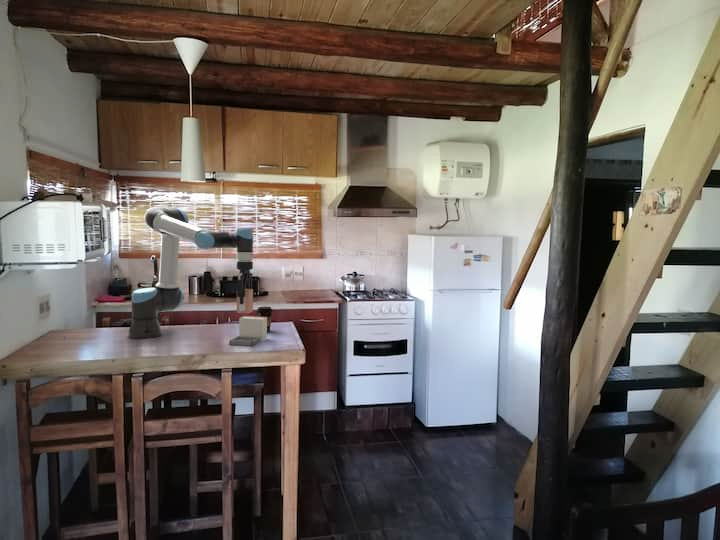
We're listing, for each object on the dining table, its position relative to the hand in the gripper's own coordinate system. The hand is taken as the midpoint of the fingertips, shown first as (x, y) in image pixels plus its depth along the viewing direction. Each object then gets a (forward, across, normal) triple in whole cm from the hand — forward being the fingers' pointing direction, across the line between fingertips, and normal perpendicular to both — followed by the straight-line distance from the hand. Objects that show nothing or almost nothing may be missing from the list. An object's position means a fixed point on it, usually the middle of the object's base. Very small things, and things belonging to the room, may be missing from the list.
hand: (244, 309), depth 229 cm
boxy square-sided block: (+16, +8, -1) cm, 18 cm away
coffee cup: (+17, +27, 0) cm, 31 cm away
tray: (+16, 0, 0) cm, 16 cm away
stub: (+1, 0, 0) cm, 1 cm away
